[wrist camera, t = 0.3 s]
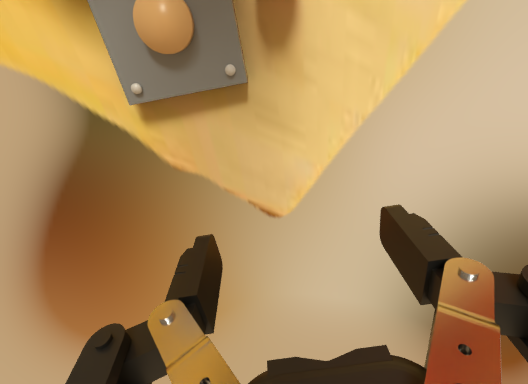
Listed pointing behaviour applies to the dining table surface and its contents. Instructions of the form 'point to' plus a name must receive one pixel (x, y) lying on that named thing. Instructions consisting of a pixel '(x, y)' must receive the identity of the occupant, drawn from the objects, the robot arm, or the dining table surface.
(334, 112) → the dining table surface
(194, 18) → the square plate with knob
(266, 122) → the dining table surface
